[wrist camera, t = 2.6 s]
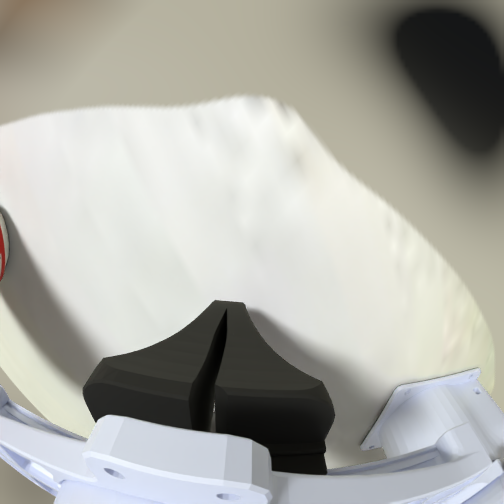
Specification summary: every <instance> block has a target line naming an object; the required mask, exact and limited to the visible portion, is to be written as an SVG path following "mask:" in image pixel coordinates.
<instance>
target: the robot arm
mask: <svg viewBox="0 0 504 504" xmlns="http://www.w3.org/2000/svg"><path fill="white" fill-rule="evenodd" d="M480 373H481V370H480V369H479V368H476V369H472V370H469V371H465V372H461V373H457V374H454V375H450V376H445V377H441V378H437V379H432V380H427V381H422V382H417V383H411V384H405V385H401V386H399V387H397V388H396V389H395V390H394V392H393V394H392V396H391V398H390V399H389V401H388V403H387V405H386V406H385V408H384V410H383V412H382V413H381V415H380V417H379V418H378V420H377V422H376V423H375V425H374V426H373V428H372V429H371V431H370V432H369V434H368V436H367V437H366V439H365V440H364V441H363V443H362V444H361V446H360V448H361V450H362V451H365V450H371V449H376V448H380V447H383V450H384V453H385V455H386V458H387V459H383V460H379V461H375V462H370V463H365V464H360V465H354V466H348V467H342V468H334V469H327V467H326V462H325V457H324V453H325V452H326V446H325V441H324V440H325V438H326V436H327V434H328V432H329V430H330V428H331V426H332V424H333V422H334V418H335V412H334V408H333V404H332V401H331V398H330V396H329V394H328V392H327V390H326V388H325V386H324V384H323V382H322V381H320V380H318V379H315V378H313V377H311V376H309V375H307V374H305V373H303V372H302V371H300V370H298V369H297V368H295V367H294V366H292V365H291V364H289V363H288V362H286V361H285V360H284V359H283V358H281V357H280V356H279V355H278V354H277V353H275V352H274V351H273V350H272V349H271V347H270V346H269V345H268V344H267V343H266V342H265V340H264V339H263V338H262V337H261V335H260V334H259V332H258V331H257V329H256V328H255V326H254V324H253V322H252V321H251V319H250V317H249V315H248V312H247V310H246V306H245V304H244V303H243V302H230V301H219V300H215V301H213V302H212V303H211V304H210V305H209V306H208V307H207V308H206V309H205V310H204V311H203V312H202V313H201V314H200V315H199V316H198V317H197V318H196V319H195V320H194V321H192V322H191V323H190V324H189V325H187V326H186V327H185V328H183V329H182V330H181V331H179V332H178V333H176V334H174V335H172V336H171V337H169V338H167V339H165V340H163V341H161V342H159V343H156V344H154V345H152V346H149V347H147V348H144V349H141V350H138V351H134V352H131V353H127V354H122V355H117V356H112V357H106V358H103V359H102V361H101V362H100V363H99V364H98V366H97V367H96V368H95V370H94V372H93V373H92V375H91V376H90V378H89V379H88V381H87V382H86V384H85V385H84V387H83V396H84V399H85V402H86V404H87V407H88V409H89V411H90V413H91V415H92V417H93V419H94V421H95V422H96V424H95V426H94V428H93V430H92V432H91V434H90V436H89V438H88V439H87V438H84V437H82V436H79V435H77V434H75V433H72V432H70V431H68V430H66V429H63V428H61V427H59V426H57V425H55V424H53V423H51V422H49V421H47V420H45V419H43V418H41V417H39V416H37V415H35V414H34V413H32V412H30V411H28V410H27V409H25V408H23V407H21V406H20V405H18V404H17V403H15V402H13V401H12V400H10V399H9V397H8V395H7V393H6V391H5V390H4V388H3V387H2V386H1V385H0V457H1V458H2V459H3V460H4V461H5V462H7V463H8V464H9V465H10V466H12V467H13V468H14V469H16V470H17V471H18V472H20V473H21V474H22V475H24V476H25V477H26V478H28V479H29V480H31V481H32V482H33V483H35V484H36V485H38V486H39V487H41V488H43V489H44V490H46V491H47V492H49V493H50V494H52V495H54V496H55V497H56V499H55V501H54V504H504V459H503V458H504V413H503V412H502V411H501V409H500V408H499V407H498V406H497V404H496V403H495V402H494V400H493V399H492V397H491V396H490V395H489V394H488V392H487V391H486V390H485V388H484V387H483V386H482V385H481V383H480V382H479V381H478V380H477V378H478V377H479V375H480ZM214 402H215V428H216V433H211V425H212V416H213V409H214Z"/></svg>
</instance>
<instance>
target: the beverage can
mask: <svg viewBox="0 0 504 504" xmlns="http://www.w3.org/2000/svg"><path fill="white" fill-rule="evenodd" d="M8 255H9V240H8V233H7V228H6V225H5V221H4V219H3V216H2V214H1V212H0V281H1V279H2V278H3V275H4V272H5V266H6V263H7V260H8Z"/></svg>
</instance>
